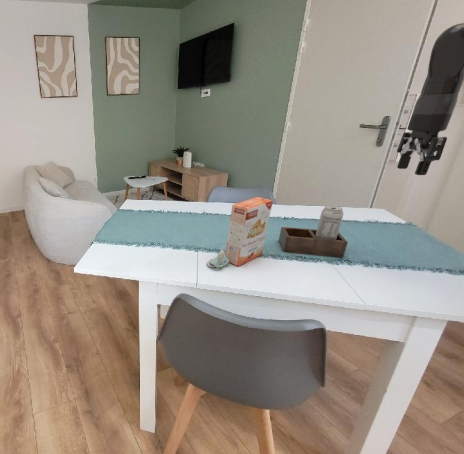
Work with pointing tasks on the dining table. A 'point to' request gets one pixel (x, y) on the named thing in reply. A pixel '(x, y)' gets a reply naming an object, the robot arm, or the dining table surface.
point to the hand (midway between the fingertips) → (410, 171)
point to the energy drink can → (329, 223)
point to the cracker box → (247, 230)
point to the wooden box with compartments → (310, 243)
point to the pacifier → (218, 260)
